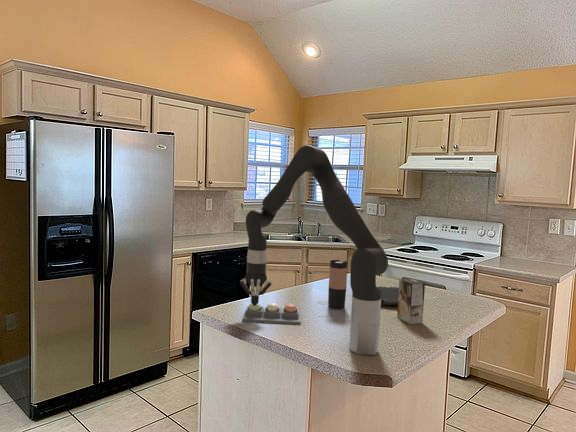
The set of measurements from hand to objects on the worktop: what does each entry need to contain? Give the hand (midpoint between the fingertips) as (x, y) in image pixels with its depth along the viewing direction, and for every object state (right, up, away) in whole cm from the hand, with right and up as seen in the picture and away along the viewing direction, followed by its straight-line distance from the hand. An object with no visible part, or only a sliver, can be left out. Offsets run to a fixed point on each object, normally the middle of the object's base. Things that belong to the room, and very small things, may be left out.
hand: (254, 304), depth 168 cm
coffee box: (+62, -7, +5) cm, 62 cm away
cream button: (+7, -2, 0) cm, 7 cm away
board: (+59, -6, +32) cm, 67 cm away
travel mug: (+34, -5, +19) cm, 39 cm away
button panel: (+7, -5, 0) cm, 8 cm away
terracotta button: (+14, -3, 0) cm, 14 cm away
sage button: (0, -3, 0) cm, 3 cm away
